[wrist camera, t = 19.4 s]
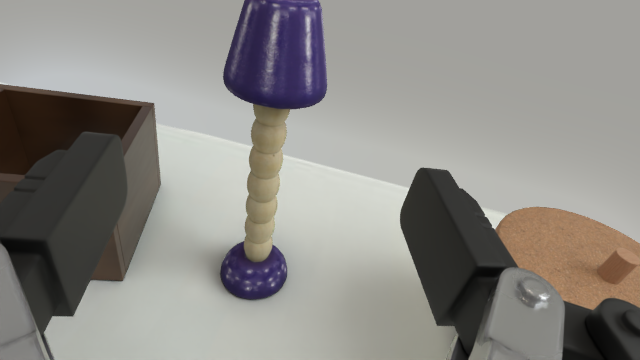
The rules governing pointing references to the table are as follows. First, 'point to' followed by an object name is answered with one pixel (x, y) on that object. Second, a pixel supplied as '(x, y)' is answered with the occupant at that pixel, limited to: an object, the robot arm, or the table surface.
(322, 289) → the table surface
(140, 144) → the open wooden box
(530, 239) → the trinket box
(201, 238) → the table surface
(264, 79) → the toy lamp
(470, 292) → the robot arm
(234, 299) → the table surface
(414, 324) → the table surface
